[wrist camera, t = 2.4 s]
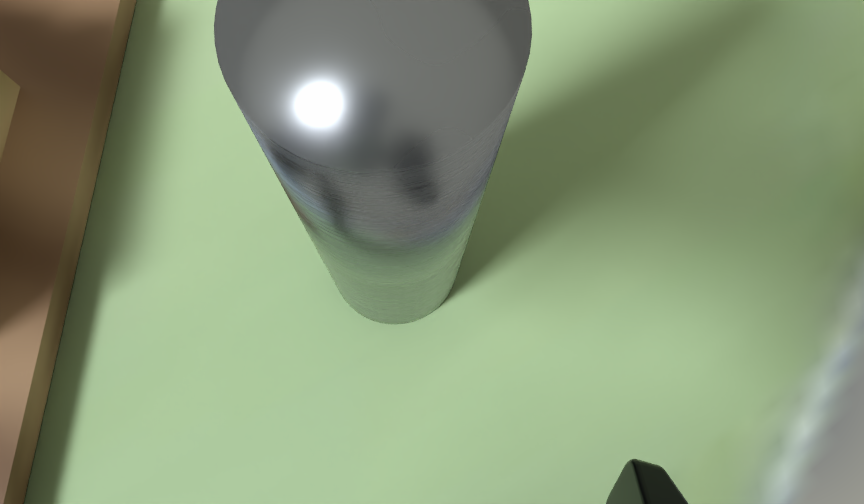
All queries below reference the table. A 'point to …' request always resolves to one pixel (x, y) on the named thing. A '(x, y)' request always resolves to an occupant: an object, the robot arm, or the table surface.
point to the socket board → (46, 192)
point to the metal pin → (379, 128)
